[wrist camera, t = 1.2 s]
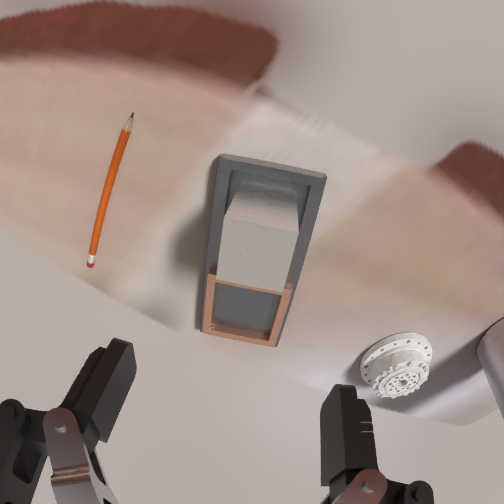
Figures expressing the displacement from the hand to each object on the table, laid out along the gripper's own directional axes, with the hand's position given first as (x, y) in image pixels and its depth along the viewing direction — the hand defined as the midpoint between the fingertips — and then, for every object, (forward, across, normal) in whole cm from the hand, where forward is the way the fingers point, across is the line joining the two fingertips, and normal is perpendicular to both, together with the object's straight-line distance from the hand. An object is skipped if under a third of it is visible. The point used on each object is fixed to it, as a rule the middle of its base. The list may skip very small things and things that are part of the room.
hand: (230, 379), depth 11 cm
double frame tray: (+18, 0, +6) cm, 19 cm away
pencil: (+19, +16, +2) cm, 25 cm away
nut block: (+17, 0, 0) cm, 17 cm away
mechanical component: (+19, -21, +17) cm, 33 cm away
